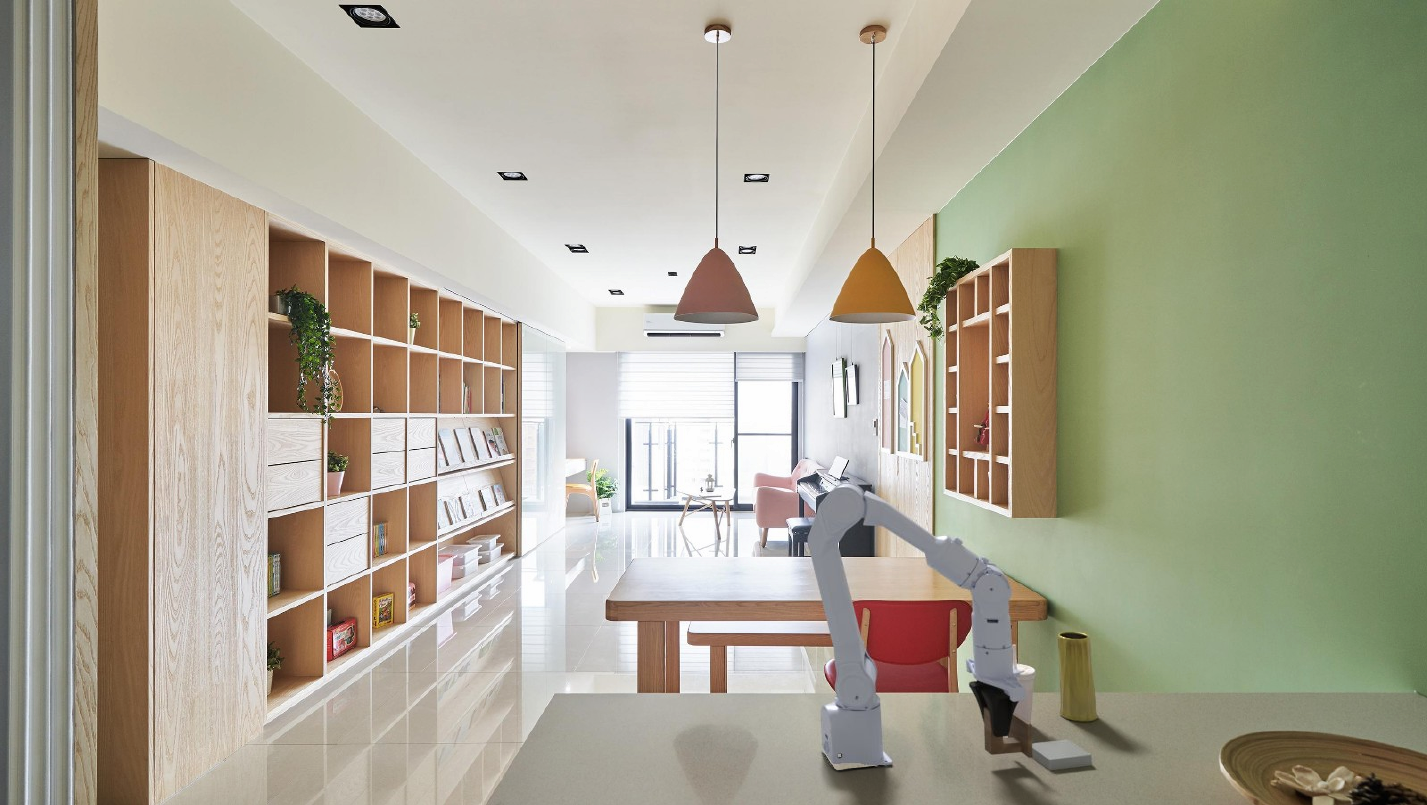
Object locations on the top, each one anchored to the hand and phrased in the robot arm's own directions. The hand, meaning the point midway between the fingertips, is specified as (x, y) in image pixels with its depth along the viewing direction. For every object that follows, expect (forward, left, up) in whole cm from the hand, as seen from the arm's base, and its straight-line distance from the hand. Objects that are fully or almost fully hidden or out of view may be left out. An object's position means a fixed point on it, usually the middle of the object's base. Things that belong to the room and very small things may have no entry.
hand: (997, 732), depth 118 cm
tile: (+7, 0, -5) cm, 8 cm away
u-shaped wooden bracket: (+1, 0, -3) cm, 3 cm away
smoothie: (+11, +14, -5) cm, 19 cm away
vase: (+23, +15, -5) cm, 28 cm away
